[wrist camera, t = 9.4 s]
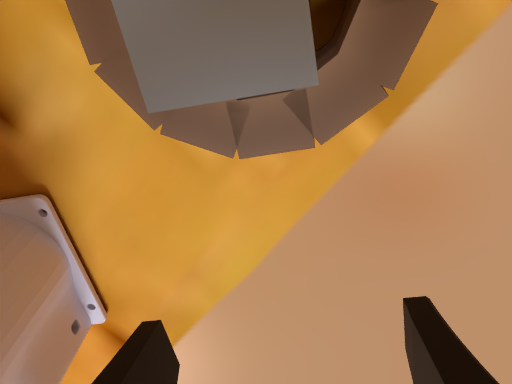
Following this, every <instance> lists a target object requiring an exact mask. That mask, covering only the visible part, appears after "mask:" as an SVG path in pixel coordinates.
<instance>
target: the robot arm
mask: <svg viewBox="0 0 512 384" xmlns="http://www.w3.org/2000/svg"><path fill="white" fill-rule="evenodd" d="M42 209H43V210H45V211H46V212H47V213H45V212H43V211H42ZM92 304H93V305H92ZM403 308H404V309H403V310H404V330H405V349H406V353H407V358H408V362H409V367H410V371H411V375H412V379H413V384H499V383H498V382H497V381H496V380H495V379H494V378H493V377H492V376H491V375H490V373H489V372H488V371H487V370H486V369H485V368H484V367H483V366H482V365H481V364H480V363H479V361H478V360H477V359H476V358H475V357H474V356H473V355H472V353H471V352H470V351H469V350H468V349H467V348H466V346H465V345H464V344H463V343H462V342H461V341H460V339H459V338H458V337H457V336H456V334H455V333H454V332H453V330H452V329H451V328H450V327H449V325H448V324H447V323H446V321H445V320H444V319H443V317H442V316H441V315H440V314H439V312H438V310H437V309H436V308H435V306H434V305H433V303H432V302H431V300H430V299H429V298H427V297H426V296H423V297H411V298H403ZM106 318H107V313H106V311H105V309H104V307H103V305H102V303H101V301H100V299H99V297H98V295H97V293H96V291H95V289H94V287H93V285H92V283H91V281H90V279H89V277H88V275H87V273H86V271H85V269H84V267H83V265H82V263H81V261H80V259H79V257H78V255H77V253H76V251H75V249H74V247H73V245H72V243H71V241H70V239H69V237H68V235H67V233H66V231H65V229H64V227H63V225H62V224H61V222H60V220H59V218H58V216H57V214H56V212H55V210H54V208H53V206H52V204H51V202H50V200H49V199H48V198H47V197H46V196H44V195H42V194H37V195H30V196H23V197H17V198H10V199H3V200H0V384H60V383H61V381H62V379H63V377H64V375H65V373H66V372H67V370H68V368H69V366H70V364H71V362H72V360H73V358H74V357H75V355H76V353H77V351H78V349H79V347H80V345H81V344H82V342H83V340H84V338H85V336H86V334H87V332H88V331H89V329H90V327H91V325H92V324H101V323H104V322H105V320H106ZM179 366H180V364H179V362H178V359H177V357H176V355H175V353H174V350H173V348H172V345H171V343H170V341H169V338H168V336H167V333H166V331H165V329H164V326H163V324H162V322H161V320H156V321H145V322H142V323H141V324H140V325H139V326H138V328H137V329H136V330H135V331H134V332H133V334H132V335H131V336H130V337H129V339H128V340H127V341H126V342H125V344H124V345H123V346H122V347H121V349H120V350H119V351H118V352H117V354H116V355H115V356H114V357H113V359H112V360H111V361H110V362H109V363H108V365H107V366H106V367H105V368H104V369H103V371H102V372H101V373H100V374H99V375H98V377H97V378H96V379H95V380H94V381H93V383H92V384H177V381H178V373H179Z"/></svg>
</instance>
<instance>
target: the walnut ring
mask: <svg viewBox="0 0 512 384" xmlns="http://www.w3.org/2000/svg"><path fill="white" fill-rule="evenodd" d="M65 1H66V4H67V6H68V9H69V12H70V14H71V17H72V19H73V22H74V25H75V27H76V30H77V33H78V35H79V38H80V40H81V43H82V46H83V48H84V51H85V53H86V56H87V59H88V61H89V64H90V65H92V64H97V63H101V65H100V66H99V67H98V68H97V69H96V70H95V71H94V72H95V73H96V74H97V75H98V76H99V77H100V78H101V79H102V80H103V81H104V82H105V83H106V84H108V85H109V86H110V87H111V88H112V89H113V90H114V91H115V92H116V93H117V94H118V95H119V96H120V97H121V98H122V99H123V100H124V101H125V102H126V103H127V104H128V105H129V106H130V107H131V108H132V109H133V110H134V111H135V112H136V113H137V114H138V115H139V116H140V117H141V118H142V119H143V120H144V121H145V122H146V123H147V124H148V125H149V126H150V127H151V128H152V129H153V130H155V129H157V128H158V127H159V126H160V125H161V124H162V123H163V124H162V129H161V133H160V134H162V135H165V136H168V137H171V138H174V139H176V140H179V141H182V142H185V143H188V144H191V145H194V146H197V147H200V148H203V149H206V150H209V151H212V152H215V153H218V154H221V155H224V156H227V157H230V158H233V157H234V154H235V152H236V149H237V151H238V155H239V159H244V158H250V157H257V156H263V155H270V154H277V153H283V152H290V151H296V150H303V149H310V148H315V143H314V137H315V139H316V140H317V141H318V142H319V143H320V144H321V145H322V144H323V143H325V142H326V141H328V140H329V139H330V138H332V137H333V136H334V135H336V134H337V133H339V132H340V131H341V130H343V129H344V128H345V127H347V126H348V125H350V124H351V123H352V122H354V121H355V120H356V119H358V118H359V117H360V116H362V115H363V114H365V113H366V112H367V111H369V110H370V109H371V108H373V107H374V106H376V105H377V104H378V103H380V102H381V101H382V100H384V99H385V98H387V97H388V94H387V93H386V91H385V89H384V88H383V86H384V87H386V88H389V89H392V90H394V88H395V87H396V85H397V83H398V81H399V79H400V77H401V75H402V73H403V71H404V69H405V67H406V65H407V63H408V61H409V59H410V57H411V55H412V53H413V51H414V49H415V47H416V45H417V44H418V42H419V40H420V38H421V36H422V34H423V32H424V30H425V28H426V26H427V24H428V22H429V20H430V18H431V16H432V14H433V12H434V10H435V8H436V6H437V4H438V3H436V2H433V1H431V0H348V1H347V3H346V6H345V8H344V11H343V13H342V16H341V18H340V21H339V23H338V25H337V28H336V30H335V33H334V35H333V38H332V39H331V40H330V41H329V42H327V43H326V44H325V45H324V46H323V47H322V48H320V49H319V50H318V51H317V52H316V53H315V57H316V65H317V73H318V81H319V85H316V86H310V87H304V88H298V89H292V90H286V91H281V92H275V93H269V94H263V95H257V96H251V97H245V98H239V99H233V100H227V101H221V102H215V103H209V104H203V105H197V106H191V107H185V108H179V109H173V110H167V111H161V112H155V113H149V114H148V112H147V108H146V105H145V102H144V99H143V96H142V93H141V90H140V87H139V84H138V81H137V78H136V75H135V72H134V69H133V66H132V63H131V60H130V56H129V53H128V50H127V47H126V44H125V41H124V38H123V35H122V32H121V29H120V26H119V23H118V20H117V17H116V14H115V11H114V8H113V4H112V1H111V0H65Z"/></svg>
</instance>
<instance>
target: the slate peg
mask: <svg viewBox="0 0 512 384" xmlns="http://www.w3.org/2000/svg"><path fill="white" fill-rule="evenodd" d="M111 1H112V4H113V8H114V11H115V14H116V17H117V20H118V23H119V26H120V29H121V32H122V35H123V38H124V41H125V44H126V47H127V50H128V53H129V56H130V60H131V63H132V66H133V69H134V72H135V75H136V78H137V81H138V84H139V87H140V90H141V93H142V96H143V99H144V102H145V105H146V108H147V112H148V114H149V113H155V112H161V111H167V110H173V109H179V108H185V107H191V106H197V105H203V104H209V103H215V102H221V101H227V100H233V99H239V98H245V97H251V96H257V95H263V94H269V93H275V92H281V91H286V90H292V89H298V88H304V87H310V86H316V85H319V81H318V73H317V65H316V57H315V49H314V41H313V32H312V24H311V16H310V8H309V0H111Z"/></svg>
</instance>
